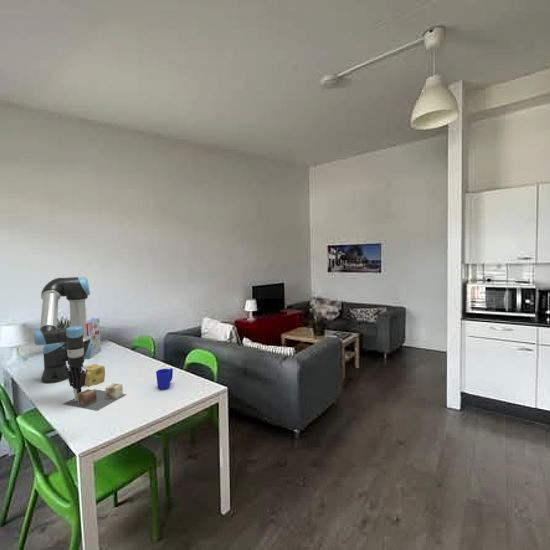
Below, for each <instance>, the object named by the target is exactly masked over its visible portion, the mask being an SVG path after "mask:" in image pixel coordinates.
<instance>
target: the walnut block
mask: <svg viewBox="0 0 550 550" xmlns="http://www.w3.org/2000/svg"><path fill="white" fill-rule="evenodd" d="M95 402H97V396H96V391H95V390H93V389H89V388H87V389H85V390H82V391H81V392H80V393H78V405H81V406H86V407H87V406H89V405H91V404H93V403H95Z"/></svg>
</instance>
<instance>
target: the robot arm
mask: <svg viewBox="0 0 550 550" xmlns="http://www.w3.org/2000/svg"><path fill="white" fill-rule="evenodd" d="M89 285H90V284H89V281H88V279H87V277H84V276H75V277H74V276H72V277H56V278H54V279H52V280H50V281H49V282H47V283H46V284H45V286H43V288H42V290H41V293H40V298H41V300H42V304H41V316H40V326H39V330H36V331H35V332H34V337H33V341H34V344H35V346H43V352H42V354H43V368H44V369H43V372H42V375H41V377H40V379H41V382H42V383H43V384H52V383H57V382H62V381H65V380H68V383H69V386H70V387H72V388H73V393H74V398H75V401H78V393H80V392H82V388H83V387H85V386H86V385H85V379H86V373H87V371H88V370H87V369H86V370H85V369H84V367H85V366H84V363H85V359H84V358H89V357H90V356H91V351H92V340H90V337H89V336H87V328H86V321H87V313H86V300H87V299H88V296H89V295H91V291H90V286H89ZM61 297H66V300H67V301H68V303H69V314H70V315H69V316H70V319H69V320H70V327H67V328H66V327H65V328H63V327H62V328H58V317H59V315H58V314H59V313H58V311H59V310H58V309H59V300H60V299H61ZM68 365H69V366H68ZM74 398H73V399H74Z"/></svg>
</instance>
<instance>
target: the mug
mask: <svg viewBox="0 0 550 550" xmlns="http://www.w3.org/2000/svg"><path fill="white" fill-rule="evenodd" d="M173 371H174V369H173V368H172V367H171V368H162V369H158V370H156V371H155V376H156V384H157V388H158V389H159V390H166V389H169V388H170V386H171V381H172V380H173V375H174V374H173Z"/></svg>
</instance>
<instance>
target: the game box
mask: <svg viewBox="0 0 550 550" xmlns="http://www.w3.org/2000/svg"><path fill="white" fill-rule="evenodd" d="M100 327H101V326H100V318H99V317H97V318H91V319H89V320H86V328H87V336H89V337H90V340H92V351H91V356H90V357H89V358H84V360H90V359H91V358H93V357H94V356H96V355H97V354H98V353H99V352H101V351H102V348H101V346H102V345H101V328H100Z"/></svg>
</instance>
